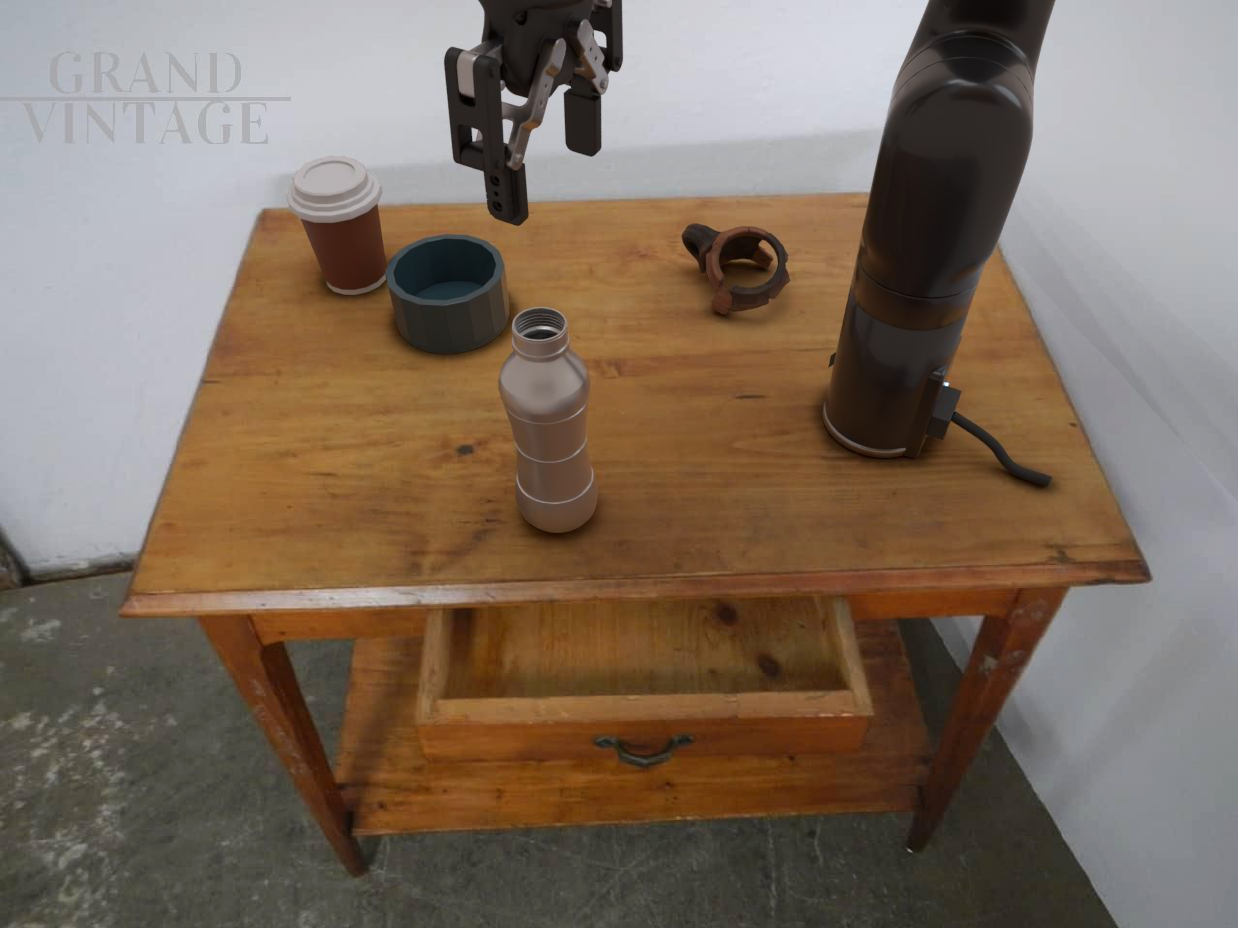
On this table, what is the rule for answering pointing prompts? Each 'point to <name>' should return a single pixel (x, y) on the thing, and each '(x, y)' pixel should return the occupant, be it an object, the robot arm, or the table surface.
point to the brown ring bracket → (731, 246)
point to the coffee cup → (341, 221)
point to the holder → (449, 293)
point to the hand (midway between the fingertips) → (548, 183)
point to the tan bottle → (549, 422)
